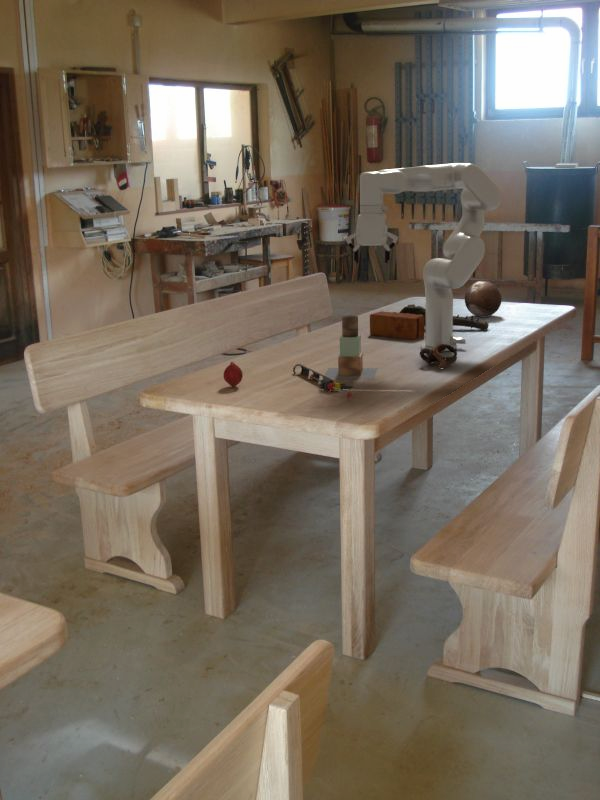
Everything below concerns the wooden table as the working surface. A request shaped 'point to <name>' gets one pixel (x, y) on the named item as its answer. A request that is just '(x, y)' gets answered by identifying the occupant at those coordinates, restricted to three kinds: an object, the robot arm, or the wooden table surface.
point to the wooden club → (456, 319)
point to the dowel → (350, 326)
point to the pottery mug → (439, 355)
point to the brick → (397, 325)
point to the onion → (233, 374)
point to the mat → (366, 374)
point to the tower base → (350, 365)
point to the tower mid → (350, 346)
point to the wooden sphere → (483, 298)
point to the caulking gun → (324, 381)
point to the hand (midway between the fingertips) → (372, 262)
